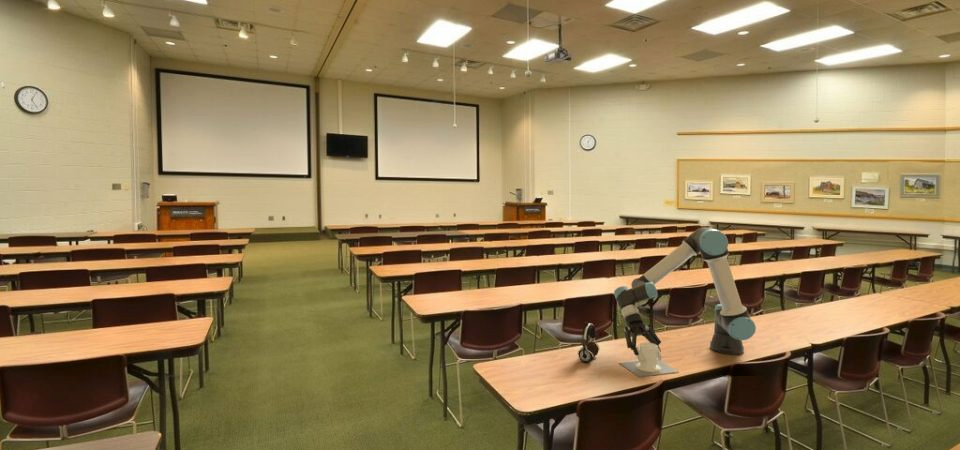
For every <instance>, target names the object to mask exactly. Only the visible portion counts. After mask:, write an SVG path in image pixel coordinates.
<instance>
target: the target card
mask: <svg viewBox="0 0 960 450" xmlns="http://www.w3.org/2000/svg"><path fill="white" fill-rule="evenodd" d="M618 364H619V365H620V366H622V368H625V369H626V370H627V371H628V372H630V373H632V374H634V375H636V376H637V377H638V378H645V377H651V376H652V375H654V376H659V375H658V374H662V375H669V374H668V373H671V374H676V373H675V372H679V371H678V370H677V369H675V368H674V367H672V366H670V365H668V364H666V363H665V362H663V361H662V360H660V361H659V360H658V358H657V362H656V368H655V369H644V368H642V367H641V366H640V362H639V360H633V361H632V360H631V361H625V362H623V361H622V362H618Z"/></svg>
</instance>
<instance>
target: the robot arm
mask: <svg viewBox="0 0 960 450" xmlns="http://www.w3.org/2000/svg"><path fill="white" fill-rule="evenodd" d="M681 242H682V243H681V244H680V245H679V246H678V247H676V248H675V249H674V250H673V251H671V252H669V254H667V255H666V256H665V257H664V258H662V259H661V260H660V261H659V262H658V263H656V264H655V265H654V266H652V267H651V268H649V269H648V270H647V271H645V273H644V274H642V275H641V276H639V277H636V278H634V279H633V280H632V281H631V285H630V286H631V288H629V287H628V286H625V285H622V286H619V287H617V288H616V289H614V291H613V295H614V297H615V300H616V303H617V305H618V307H619V309H620V312H621V314H622V317H623V319H624V321H625V324H626V326H624V328H623V329H622V331H623V333H624V336H625V342H626V347H627V349H630V350H631V351H632V352H633V354H634V356H636V357H637V361H639V362H640V363H641V362H642V361H643V360H644V359H643V357H642V355H641V352H640V347H639V346H637V336H638V335H640V336H642V337H643V338H645V339H646V340H647V341H648V343H653V344H656V345H657V346H658V353H657V359H658V360H659V361H662V360H663V358H664V357H663V355H662V349H661V348H660V346H659V345H661V344H662V341H661V340H660V338H659V337H658V335H657V334H656V332H655V331H654V330H653V328H652V325H651V324H648V325H646V324H644V322H643V318H642V315H641V314H640V311H639V309H638V308H637V305H636V304H638V303H641V302H644V301H647V300H650V299H653V298H655V297H658V289H657V288H656V284H658V283H659V282H660V281H662V280H663V279H664V278H667V276H668V275H669V274H670V273H672V272H673V271H675V270H676V269H677V268H678V267H680V266H681V265H682V264H684V263H685V262H686V261H688V260H689V259H690V258H692V257H693V256H697V255H699V254H700V256H701V258H702V260H703V261H704V262H706V263H707V266H708V269H709V272H710V274H711V275H710V276H711V278H712V282H713V284H714V287H715V290H716V293H717V296H718V297H717V298H718V300H719V303H718V304H716V305H715V308H714V326H713V327H714V328H713V329H714V331H713V335H712V338H711V340H710V341H709V348H710V349H711V350H713V351H714V352H718V353H722V354H726V355H741V354H743V353H744V352H745V347H744V345H743V341H747V340H749V339H751V338H752V337H753V336H754V335H755V333H756V330H757V328H756V327H757V326H756V323H755V322H754V321H753V319H752V318H751V316H750V314H749V311H748V308H747V307H746V306H744V305H743V304H742V301H741V298H740V294H739V292H738V289H737V286H736V285H737V284H736V283H735V279H734V276H733V273H732V270H731V267H730V263H729V261H728V256H729V255H730V253H729V249H728V247H729V240H728V237H727V236H726V234H724V232H722V231H721V230H719V229H716V228H712V227H707V226H706V227H699V228H698V229H696V230H694V231H693V232H691V233H690V234H689V235H688V236H687V237H685V238H684V239H683V240H682V241H681ZM630 332H631V333H630Z"/></svg>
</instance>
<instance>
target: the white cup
mask: <svg viewBox="0 0 960 450" xmlns="http://www.w3.org/2000/svg"><path fill="white" fill-rule="evenodd" d="M639 350H640V352H641V355H642V357H643V359H644V360H643V361H642V362H641V363H640V366H641V367H642V368H644V369H655V368H656V362H657V359H658V358H657V353H658V346H657V345H656V344H653V343H650V342H640V343H639Z"/></svg>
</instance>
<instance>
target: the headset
mask: <svg viewBox="0 0 960 450" xmlns="http://www.w3.org/2000/svg"><path fill="white" fill-rule="evenodd" d="M596 337H597V332H596V326H595V325H594V324H593V323H590V322H588V321H584V323H583V329H582V339H581V341H580V345H581V346H582V347H580V349H578V351H577V355H578V358H579V360H580V361H582V362H583V363H591V362H592V361H593V360H594V358H595V357H596V356H597V355H598V354H599V350H600V345H599V344H598V342H596V340H595V339H596ZM589 338H590V340H589ZM592 339H593V341H592Z"/></svg>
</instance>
